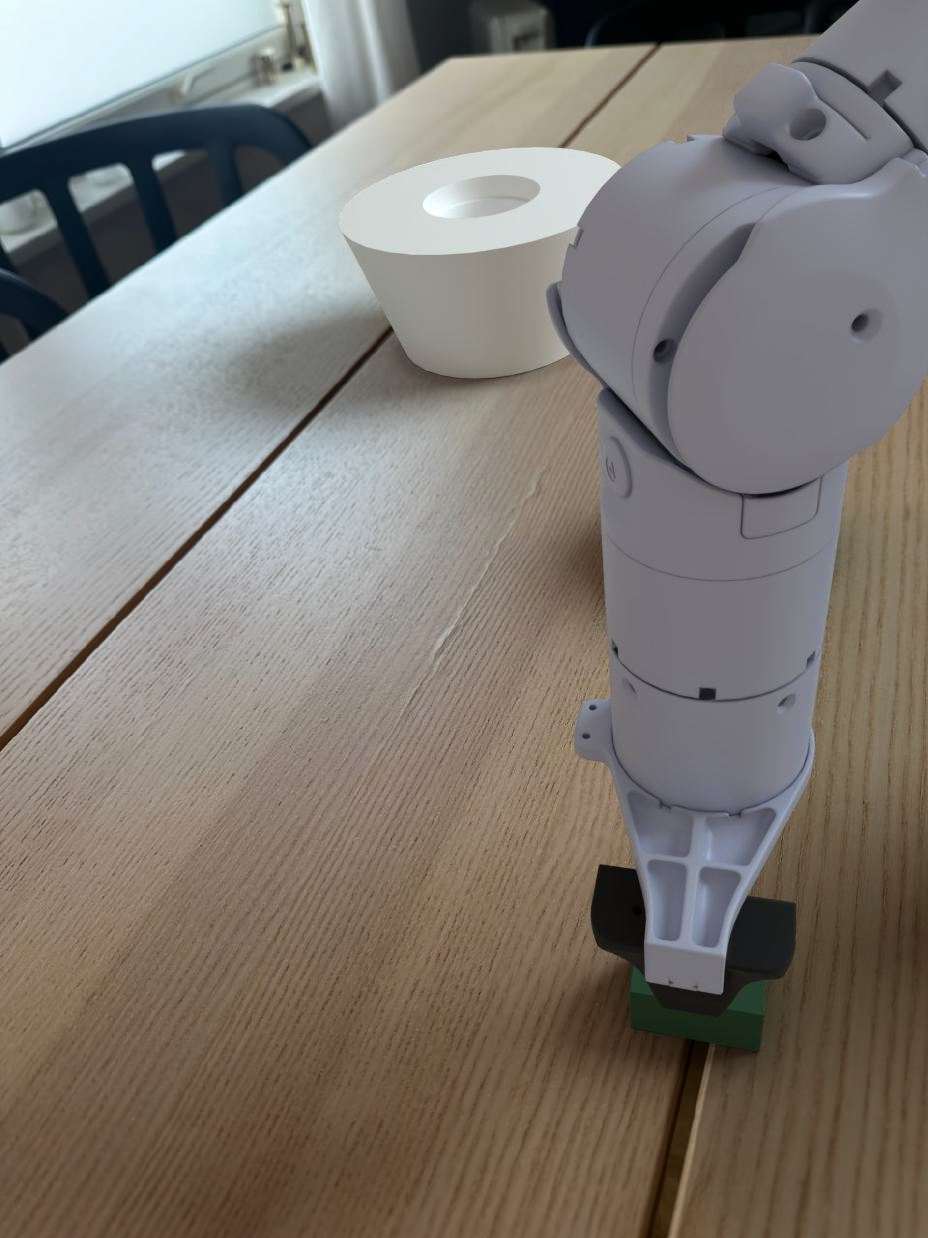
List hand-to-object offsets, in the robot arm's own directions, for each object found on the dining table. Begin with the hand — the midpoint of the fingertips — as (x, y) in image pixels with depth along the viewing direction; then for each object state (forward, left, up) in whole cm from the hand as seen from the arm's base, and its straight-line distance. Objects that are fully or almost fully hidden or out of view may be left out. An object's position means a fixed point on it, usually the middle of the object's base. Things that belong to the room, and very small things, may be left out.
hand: (700, 903), depth 36 cm
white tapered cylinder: (+23, -60, -7) cm, 65 cm away
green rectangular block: (0, 0, -7) cm, 7 cm away
